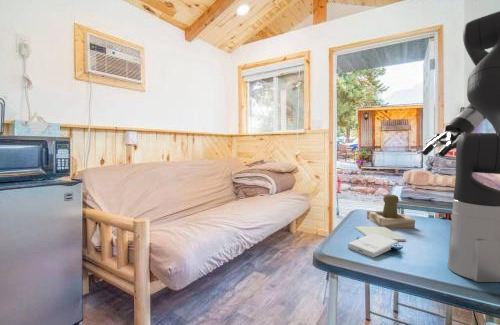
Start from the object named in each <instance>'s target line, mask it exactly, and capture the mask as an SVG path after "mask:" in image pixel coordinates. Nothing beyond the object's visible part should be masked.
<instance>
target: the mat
mask: <svg viewBox="0 0 500 325" xmlns="http://www.w3.org/2000/svg"><path fill="white" fill-rule="evenodd" d="M354 228H355V230H357V231H358V232H359V233H361V234H362V235H364V237H365V236H367V235H370V234H372V233H374V234H377V235H380V236H383V237H387V238H390V239H393V240H396V241H398V242H406V241H407V239H406V238H405V237H403V236H401V235H400V234H398V233H396V232H395V231H393V230H391V228H386V227H381V226H359V225H358V226H354Z"/></svg>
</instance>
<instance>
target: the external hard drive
mask: <svg viewBox="0 0 500 325" xmlns="http://www.w3.org/2000/svg"><path fill="white" fill-rule="evenodd" d="M399 242H400V241H396V240H393V239H390V238H387V237H383V236H380V235H377V234H374V233H372V234H370V235H367V236H365V235H364V236H363V237H360V238H358V239H355V240H353V241H351V242H348V243H347V248H348V249H350V250H352V251H355V252H358V253H360V254H362V255H366V256H368V257H370V258H372V259H373V258H376V257H378V256H380V255H382V254H385V253H386V252H389V251H390V250H392V249H391V246H392V245H394V244H398V245H399Z"/></svg>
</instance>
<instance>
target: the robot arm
mask: <svg viewBox="0 0 500 325" xmlns="http://www.w3.org/2000/svg"><path fill="white" fill-rule="evenodd" d="M462 42H463V45H464V48H465V51H466V52H467V54H468V56H469V57H470V59H471V61H472V63H473V64H474V65H475V67H474V68H472V70H471V72H470V74H469V75H468V79H467V90H466V97H467V101H468V102H469V104H468V106H466V107H465V108H464V109H463V110H462V111H461V112H459V113H457V115H455V117H453V118H452V120H451V121H449V122H448V123H447V124H446V125H445V127H444V128H445V129H444V130H445V131H444V132H443V133H441V134H440V133H438V132H436V133H434V135H433V136H431V138H429V139H428V140H427V141H426V142H425V144H426V145H427V146H425V147H424V148H423V149H422V150H421V154H422V155H423V156H428V154H430V153H431V152H432V151H433V150H434V149H436V148H437V147H438V148H440V147H441V149H440V150H439V151H438V152H437V154H438V155H439V157H441V158H443V157H445V156H446V155H447V154H448V153H449V152H451V151H453V150H455V179H454V180H455V181H454V191H453V198H452V199H453V201H452V211H451V221H450V234H449V244H448V246H449V247H448V258H447V268H448V269H449V270H450V271H452V272H453V273H454V274H456V275H459V276H461V277H464V278H466V279H469V280H472V281H474V282H475V283H476V282H477V283H500V190H499V189H497V188H494V187H491V186H488V185H485V184H483V183H482V182H480V181H478V180H477V179H476V178H474V177H473V173H476V174H477V173H478V174H492V175H494V174H495V175H500V11H496V12H493V13H490V14H487V15H485V16H481V17H479V18H476V19H473V20H471V21H469V22H467V23H465V25H464V26H463V30H462ZM491 48H492V49H491ZM488 49H491V50H490V51H489V52H488V51H487V50H488ZM485 119H486V120H487V121H488V122H489V123H490V124H491V126H492V127H493V129H494V133H493V132H480V133H479V132H475V133H474V131H475V130H476V129H477V128H478V127H479V126H480V125H481V124H482V122H483V121H485ZM442 146H443V147H442Z"/></svg>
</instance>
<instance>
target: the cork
mask: <svg viewBox="0 0 500 325" xmlns="http://www.w3.org/2000/svg"><path fill="white" fill-rule="evenodd" d="M399 200H400V199H399V196H397V195H396V194H391V193H389V194H385V195H383V202H384V203H383V204H384V205H383V210H382V211H383V214H382V216H383V217H384V218H398V215H397V212H398V203H399Z"/></svg>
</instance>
